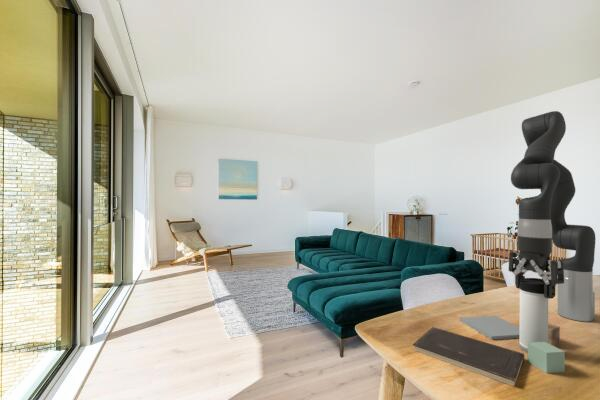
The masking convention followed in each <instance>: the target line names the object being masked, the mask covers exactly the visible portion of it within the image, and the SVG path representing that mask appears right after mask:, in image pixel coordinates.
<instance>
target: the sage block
mask: <svg viewBox="0 0 600 400" xmlns="http://www.w3.org/2000/svg"><path fill="white" fill-rule="evenodd" d="M565 354H566V352H565V351H564V350H563V349H561V348H558V347H557V346H552V345H550V344H548V343H546V342H533V343H528V352H527V362H528V363H529V364H531V365H532V366H534V367H535V368H537V369H539V370H541V371H542V372H544V373H545V374H550V373H551V374H555V373H565V372H566V370H565V367H566V365H565V364H566V363H565V361H566V358H565V356H566V355H565Z"/></svg>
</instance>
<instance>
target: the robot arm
mask: <svg viewBox="0 0 600 400" xmlns="http://www.w3.org/2000/svg"><path fill="white" fill-rule="evenodd" d="M566 129H567V125H566V120H565V118H564V115H563V113H561V111H557V110H555V111H554V110H553V111H549V112H546V113H542V114H539V115H536V116H535V115H534V116H531V117H528V118H525V119H523V120H522V123H521V133H522V135H523V138H524V142H525V144H526V147H527V148H526V149H525V153H524V157H523V158H522V159H521V160H520V161H519V162H518V163H517V164H516V165H515V166H514V167H513V169H512V171H511V174H510V182H511V184H512V186H514V187H515V188H517V189H518V190H540V193H539V194H538V195H536V196H530V197H524V198H521V199H520V200H519V201H518V222H517V241H516V242H517V250H518V251H511V252H509V255H508V272H511V273H513V275H514V279H515V281H514V282H515V283H514V285H515V287H516V289H519V290H520V280H521V279H523V278H526V276H525V274H526V273H527V272H530V271H531V272H532V273H535V274H537V275H538V277H541V279H543V280H544V282H545V283H546V284H544V297H545V298H548V300H549V299H551V300H552V299H554V297H556V285H557V308H556V309H557V314H558V315H559V316H561V317H563V318H566V319H568V320H569V319H570V320H573V321H578V322H592V321H593V320H596V319H595V317H596V316H595V311H596V309H595V308H596V304H595V300H596V295H595V294H596V293H595V292H594V291H593V289H594V288H593V286H594V285H593V284H594V283H593V282H594V280H593V277H594V275H593V273H594V269H593V268H594V263H595V250H596V249H595V248H596V232H595V231H594V229H593V228H592V226H589V225H580V224H567V222H566V218H565V214H566V210H567V208H568V207H569V205H570V203H571V202H572V200H573V199H574V196H575V194H576V186H575V182H574V178H573V174H572V172H571V171H570V170H569V169H568V168H567V167H566V166H564V165H563V164H562V163H560V162H559V161H558V160H556V159H555V153H556V149H557V148H558V147H559V145H560V143H561V142H562V139H563V138H564V136H565V134H566ZM553 245H554V246H555V247H556V248H558V249H562V250H569V251H575V254H574V256H572V257H567V258H560V259H557V260H556V259H555V260H554V259H551V256H550V255H551V254H552V253H553Z"/></svg>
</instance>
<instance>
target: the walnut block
mask: <svg viewBox="0 0 600 400" xmlns="http://www.w3.org/2000/svg"><path fill="white" fill-rule="evenodd" d="M560 328H561V327H560V326H558V325H555V324H552V323H549V322H548V344H550V345H552V346H554V347H557V345H559V344H560V343H561V342H560V341H561V339H560V337H561V336H560V335H561V332H560V330H561V329H560Z"/></svg>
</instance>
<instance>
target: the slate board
mask: <svg viewBox="0 0 600 400" xmlns="http://www.w3.org/2000/svg"><path fill="white" fill-rule="evenodd" d="M459 321H460V322H461V323H462V324H465V325H467V326H468V327H470V328H471V329H473V330H475V331H476V332H478V333H480V334H481V335H483V336H485V337H487V338H488V339H490V340H506V339H507V340H508V339H519V326H518V325H515V324H513V323H511V322H510V321H508V320H506V319H504V318H502V317H499V316H497V315H486V316H469V317H467V316H465V317H459Z"/></svg>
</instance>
